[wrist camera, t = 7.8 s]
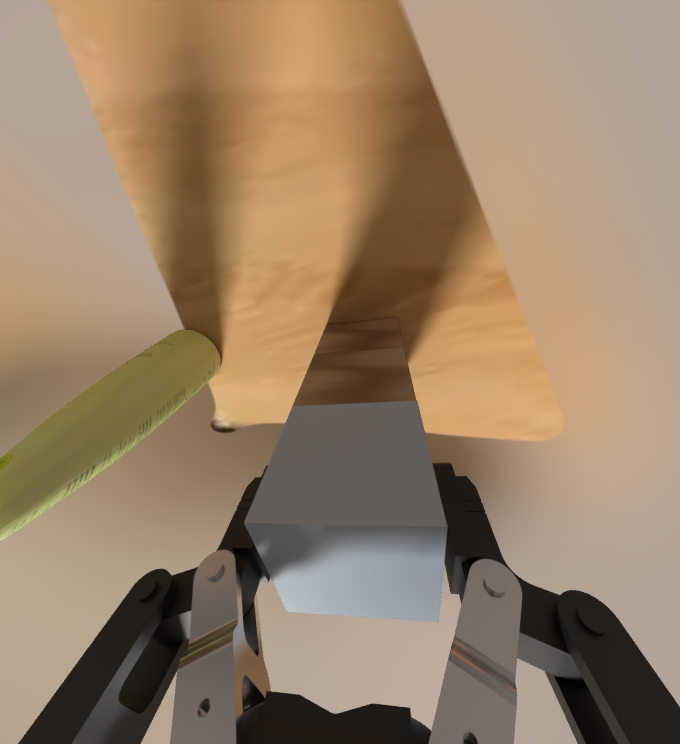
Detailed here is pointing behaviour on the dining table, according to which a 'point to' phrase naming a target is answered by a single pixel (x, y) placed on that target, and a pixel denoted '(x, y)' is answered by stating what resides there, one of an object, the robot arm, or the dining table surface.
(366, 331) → the tower lower
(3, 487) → the tube
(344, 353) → the tower upper
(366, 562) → the slate block
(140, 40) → the dining table surface
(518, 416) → the dining table surface
